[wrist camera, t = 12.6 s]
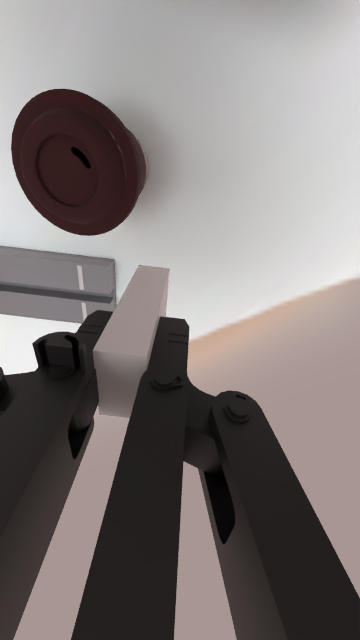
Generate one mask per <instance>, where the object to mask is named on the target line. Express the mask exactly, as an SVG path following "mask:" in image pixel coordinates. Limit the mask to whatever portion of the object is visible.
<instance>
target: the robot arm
mask: <svg viewBox="0 0 360 640" xmlns="http://www.w3.org/2000/svg"><path fill="white" fill-rule="evenodd" d="M169 270H170V269H167V268H159V267H151V266H142V265H139V266H138V268H137V270H136V272H135V274H134V275H133V277H132V279H131V281H130V283H129V285H128V286H127V288H126V290H125V292H124V294H123V296H122V297H121V299H120V301H119V303H118V305H117V307H116V308H115V310H114V312H112V311H103V310H96V311H95V312H93V313H91V314H90V315H88V316H87V317H86V319H85V320H84V322H83V323H82V325H81V326H80V327H79V329H78V331H77V332H76V333H71V332H55V333H50V334H47V335H45V336H43V337H40V338H39V339H37V340H36V341H35V342H34V343H32V344H33V347H34V351H35V355H36V359H37V363H38V368H37V369H36V371H34V372H28V373H20V374H12V375H4V373H3V370H2V368H1V367H0V640H13V639H14V636H15V633H16V631H17V628H18V625H19V623H20V620H21V618H22V615H23V612H24V610H25V607H26V604H27V602H28V599H29V596H30V594H31V591H32V588H33V586H34V583H35V581H36V578H37V576H38V573H39V570H40V568H41V565H42V562H43V560H44V557H45V555H46V552H47V549H48V547H49V544H50V542H51V539H52V536H53V534H54V531H55V528H56V526H57V523H58V521H59V518H60V515H61V513H62V510H63V508H64V505H65V502H66V499H67V497H68V494H69V492H70V489H71V486H72V484H73V481H74V479H75V476H76V474H77V471H78V468H79V466H80V463H81V460H82V458H83V455H84V453H85V450H86V447H87V445H88V442H89V439H90V437H91V434H92V431H93V427H94V418H93V416H94V413H95V411H96V408H97V406H98V407H99V414H102V415H110V416H120V417H127V418H130V420H129V423H128V427H127V431H126V435H125V438H124V442H123V446H122V450H121V453H120V457H119V461H118V465H117V469H116V472H115V476H114V480H113V484H112V488H111V491H110V495H109V499H108V503H107V506H106V510H105V514H104V517H103V521H102V525H101V529H100V532H99V536H98V540H97V544H96V547H95V551H94V555H93V559H92V562H91V567H90V570H89V574H88V578H87V581H86V585H85V589H84V593H83V596H82V601H81V604H80V608H79V612H78V615H77V619H76V623H75V626H74V630H73V634H72V638H71V640H174V625H175V624H174V623H175V605H176V587H177V586H176V585H177V568H178V551H179V532H180V512H181V495H182V476H183V461H185V462H187V463H189V464H191V465H193V466H195V467H197V468H198V470H199V474H200V479H201V483H202V488H203V492H204V496H205V501H206V505H207V510H208V514H209V519H210V523H211V527H212V532H213V536H214V540H215V545H216V549H217V554H218V558H219V563H220V567H221V571H222V576H223V580H224V585H225V589H226V593H227V598H228V602H229V607H230V611H231V615H232V620H233V624H234V629H235V633H236V638H237V640H360V598H359V596H358V594H357V592H356V590H355V589H354V586H353V584H352V583H351V581H350V579H349V577H348V575H347V573H346V571H345V569H344V567H343V565H342V563H341V562H340V559H339V558H338V556H337V554H336V552H335V550H334V548H333V546H332V544H331V542H330V540H329V538H328V536H327V534H326V532H325V531H324V529H323V527H322V525H321V523H320V521H319V519H318V517H317V515H316V513H315V511H314V510H313V508H312V506H311V504H310V502H309V500H308V498H307V496H306V494H305V492H304V490H303V488H302V486H301V484H300V482H299V480H298V479H297V477H296V475H295V473H294V471H293V469H292V468H291V465H290V463H289V461H288V459H287V457H286V456H285V453H284V452H283V450H282V448H281V446H280V444H279V442H278V440H277V438H276V436H275V434H274V432H273V430H272V428H271V427H270V425H269V423H268V421H267V419H266V417H265V415H264V413H263V411H262V409H261V408H260V406H259V405H258V404H257V402H256V401H255V400H253V399H252V398H251V397H249V396H248V395H246V394H243V393H241V392H238V391H225V392H221V393H220V394H219V395H217V396H216V397H214V396H212V395H209V394H206V393H204V392H202V391H201V390H199V389H197V388H196V387H195V386H193V384H192V383H191V382H190V381H189V378H188V376H187V359H188V357H187V356H188V341H189V326H188V324H187V323H186V321H185V319H178V318H169V317H165V316H166V305H167V293H168V282H169Z"/></svg>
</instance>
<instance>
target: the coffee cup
mask: <svg viewBox="0 0 360 640" xmlns="http://www.w3.org/2000/svg"><path fill="white" fill-rule="evenodd" d="M11 151H12V160H13V165H14V169H15V172H16V176H17V179H18V181H19V183H20V185H21V188H22V190H23V191H24V193H25V195H26V197H27V198H28V200H29V201H30V202H31V204H32V205H33V206H34V207H35V209H36V210H37V211H38V212H39V213H40V214H41V215H42V216H43V217H44V218H46V219H47V220H48V221H50V222H51V223H52V224H54V225H55V226H57V227H59V228H61V229H63V230H65V231H67V232H70V233H73V234H78V235H86V236H92V235H99V234H103V233H106V232H108V231H110V230H112V229H114V228H115V227H117V226H118V225H119V224H121V223H122V222H123V221H124V220H125V219H126V218H127V217H128V215H129V214H130V213H131V211H132V210H133V208H134V206H135V204H136V201H137V199H138V196H139V194H140V193H141V191H142V189H143V187H144V184H145V182H146V179H147V175H148V162H147V158H146V154H145V152H144V149H143V147H142V146H141V144H140V143H139V141H138V140H137V139H136V138H135V137H134V135H133V134H132V133H131V132H130V131H129V130H128V129H127V128H125V126H124V124H123V123H122V122H121V121H120V119H119V118H118V117H117V116H116V115H115V114H114V113H113V112H112V111H111V110H110V109H109V108H108V107H106V106H105V105H104V104H102V103H101V102H99V101H97V100H96V99H94V98H92V97H90V96H88V95H86V94H84V93H81V92H78V91H74V90H69V89H53V90H48V91H45V92H42V93H40V94H38V95H36V96H35V97H34V98H32V99H31V100H30V101H29V102H28V103H27V104H26V105H25V106H24V107H23V108H22V110H21V112H20V114H19V115H18V117H17V119H16V122H15V125H14V129H13V133H12V144H11Z"/></svg>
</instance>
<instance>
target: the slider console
mask: <svg viewBox="0 0 360 640" xmlns="http://www.w3.org/2000/svg"><path fill="white" fill-rule="evenodd" d="M115 308H116V291H115V263H114V260H113V259H105V258H97V257H88V256H80V255H72V254H63V253H55V252H46V251H38V250H30V249H21V248H13V247H5V246H0V314H5V315H14V316H22V317H31V318H39V319H47V320H56V321H64V322H73V323H81V324H82V323H83V322H84V320H85V319H86V317H87V316H88V315H90V314H91V313H93V312H95V311H96V310H103V311H112V312H114V310H115Z"/></svg>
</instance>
